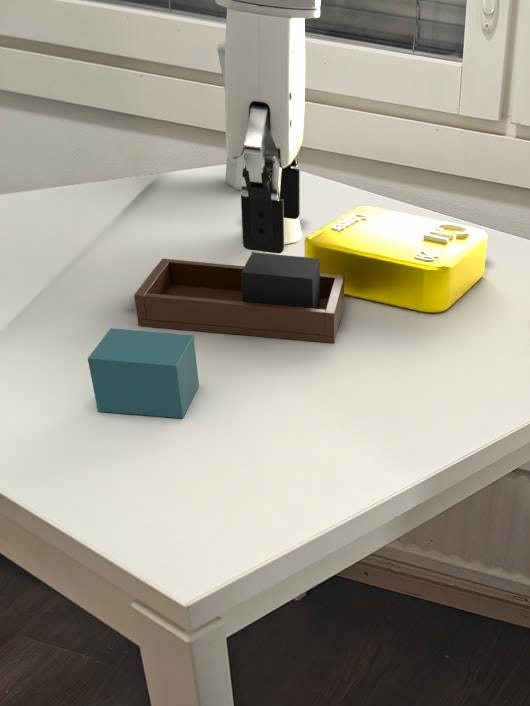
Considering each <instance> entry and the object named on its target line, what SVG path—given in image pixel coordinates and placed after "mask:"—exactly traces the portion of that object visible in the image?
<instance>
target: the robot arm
mask: <svg viewBox="0 0 530 706" xmlns="http://www.w3.org/2000/svg"><path fill="white" fill-rule="evenodd" d="M214 2H215V4H217V5H218V6H221V7H224V8H226V20H225V37H224V38H225V40H224V42H225V88H224V100H225V102H224V103H225V105H224V107H225V153H226V157H227V156H228V157H229V159H230V160H231V161H232V162H237V161H238V160H239V159H240V157H241V156H242V155H243V154H244V162H243V172H242V188H241V190H242V191H241V195H240V206H241V207H240V209H241V210H240V211H241V231H242V233H241V234H242V246H243V248H244V249H246V250H247V251H253V252H261V253H269V254H283V252H284V250H285V244H284V218H290V219H297V218H298V217H300V213H301V208H300V207H301V201H300V199H301V197H300V196H301V195H300V194H301V193H300V192H301V187H300V186H301V182H300V181H301V179H300V178H301V177H300V176H301V175H300V174H301V171H300V170H301V169H300V168H298V167H299V166H298V165H299V151H300V149H301V147H302V145H303V140H304V130H305V129H304V127H305V102H306V100H305V99H306V31H305V29H306V27H305V22H306V21H305V19H317V18H320V17H321V0H215V1H214ZM291 167H293V168H291Z"/></svg>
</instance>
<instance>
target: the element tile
mask: <svg viewBox="0 0 530 706" xmlns="http://www.w3.org/2000/svg"><path fill="white" fill-rule="evenodd" d="M487 246H488V235H487V233H486V232H485V230H484V229H480V228H476V227H472V226H467V225H464V224H458V223H453V222H448V221H444V220H443V221H442V220H437V219H432V218H427V217H423V216H418V215H413V214H408V213H403V212H398V211H393V210H388V209H384V208H379V207H373V206H366V205H365V206H360V207H357V208H355V209H353V210H351V211H349V212H346V213H345V214H343V215H342V216H340V217H338V218H336V219H334V220H332V221H330V222H328V223H327V224H325V225H324V226H321V227H320V228H318V229H316V230H315V231H312V232H311V233H309V234H307V235H306V236H305V237H304V241H303V249H304V250H303V251H304V252H303V253H304V257H307V258H318V259H320V274H330V275H341V276H344V296H349V297H354V298H357V299H358V298H359V299H363V300H367V301H371V302H377V303H381V304H386V305H389V306H395V307H399V308H403V309H408V310H412V311H417V312H421V313H428V314H429V313H431V314H436V313H441V312H445V311H447V310H449V309H450V308H451V307H452V306H453V305H454V304H455V303H456V302H457V301H458V300H459V299H460V298H461V297H462V296H463V295H464V294H466V293H467V291H469V290H470V289H471V288H472V287H473V286H474V285H475V284H476V283H477V282H478V281H479V280H480V279H481V278H482V277H483V276H484V274H485V265H486V256H487Z"/></svg>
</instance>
